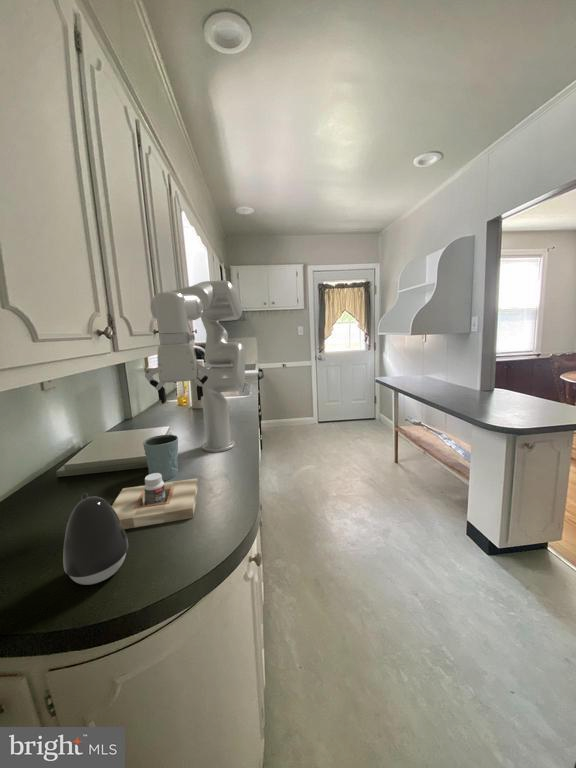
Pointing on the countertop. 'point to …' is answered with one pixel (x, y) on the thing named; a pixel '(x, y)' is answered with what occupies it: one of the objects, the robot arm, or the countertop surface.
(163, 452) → the blue green cup
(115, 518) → the dark rounded oval
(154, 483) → the pill bottle
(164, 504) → the socket plate
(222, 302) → the robot arm
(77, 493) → the countertop surface
